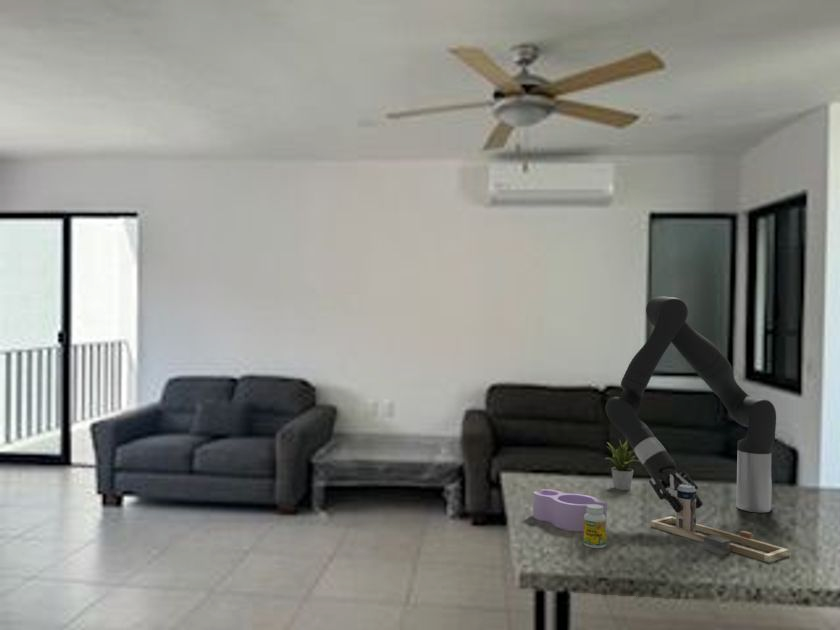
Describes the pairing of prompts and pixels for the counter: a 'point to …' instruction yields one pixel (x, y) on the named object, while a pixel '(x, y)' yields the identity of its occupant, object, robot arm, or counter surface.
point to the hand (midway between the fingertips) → (690, 508)
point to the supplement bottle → (594, 527)
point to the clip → (563, 508)
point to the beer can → (687, 507)
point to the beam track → (724, 540)
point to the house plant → (622, 467)
